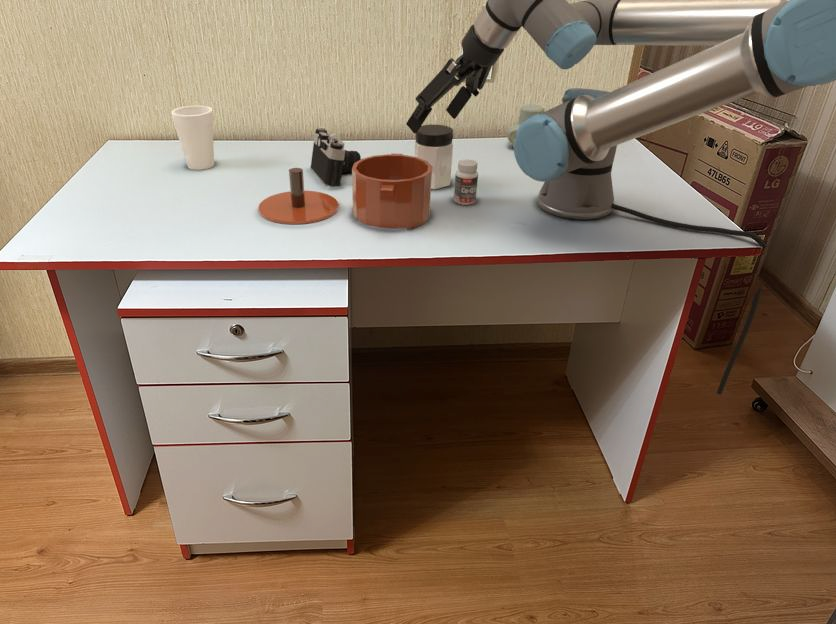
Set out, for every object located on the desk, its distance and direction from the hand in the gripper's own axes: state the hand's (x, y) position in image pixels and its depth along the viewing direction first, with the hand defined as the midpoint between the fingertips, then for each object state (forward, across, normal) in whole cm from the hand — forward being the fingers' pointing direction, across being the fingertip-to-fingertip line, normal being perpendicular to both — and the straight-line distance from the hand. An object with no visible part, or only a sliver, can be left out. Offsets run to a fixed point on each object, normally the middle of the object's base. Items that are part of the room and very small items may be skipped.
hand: (431, 121), depth 133 cm
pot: (+11, +16, +11) cm, 22 cm away
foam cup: (+43, +23, -34) cm, 59 cm away
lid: (+20, +27, -3) cm, 33 cm away
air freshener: (+12, -41, +10) cm, 44 cm away
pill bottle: (+7, 0, +17) cm, 18 cm away
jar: (+14, -4, +7) cm, 16 cm away
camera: (+25, +7, -9) cm, 27 cm away
